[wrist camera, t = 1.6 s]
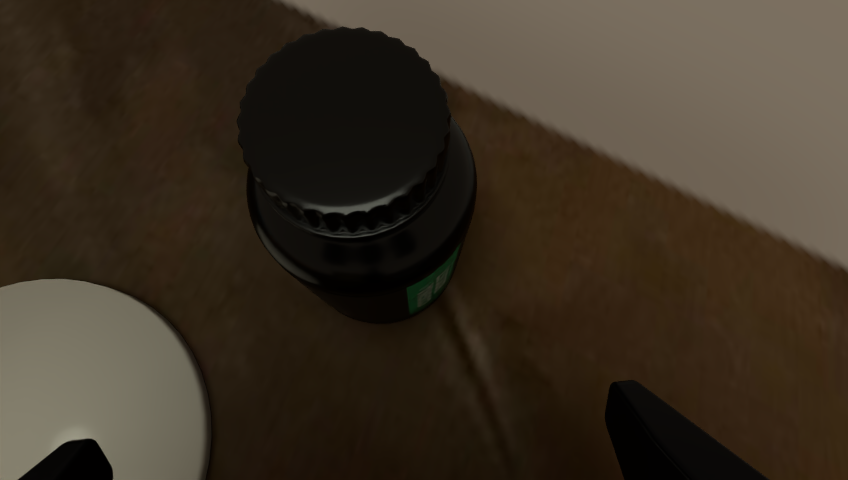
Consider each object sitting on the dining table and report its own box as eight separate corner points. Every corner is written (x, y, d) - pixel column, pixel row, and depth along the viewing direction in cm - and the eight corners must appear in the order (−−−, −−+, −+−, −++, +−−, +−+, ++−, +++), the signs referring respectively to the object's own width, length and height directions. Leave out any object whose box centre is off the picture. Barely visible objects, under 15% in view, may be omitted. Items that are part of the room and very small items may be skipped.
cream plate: (280, 464, 20) (273, 468, 19) (-35, 754, 17) (-62, 776, 16) (94, 221, 23) (79, 214, 22) (-203, 440, 20) (-234, 443, 19)
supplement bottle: (469, 312, 22) (526, 238, 10) (315, 336, 21) (192, 289, 10) (443, 171, 23) (467, -28, 12) (301, 191, 23) (184, 7, 12)
